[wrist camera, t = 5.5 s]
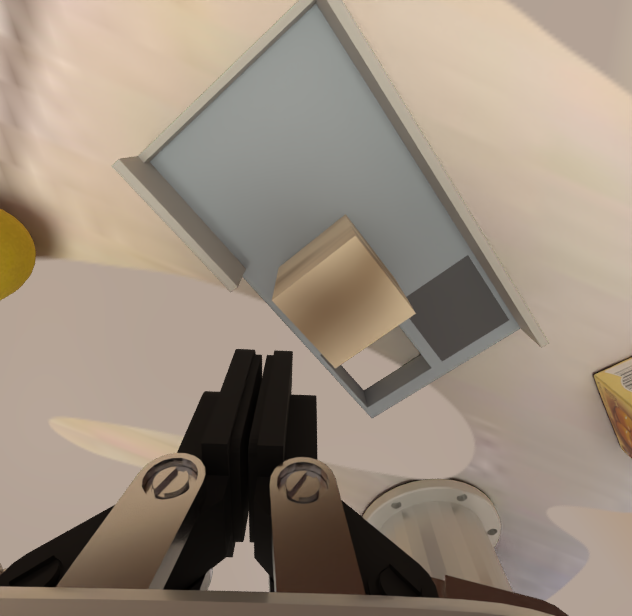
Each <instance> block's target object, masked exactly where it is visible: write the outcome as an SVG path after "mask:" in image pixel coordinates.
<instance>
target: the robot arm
mask: <svg viewBox="0 0 632 616" xmlns="http://www.w3.org/2000/svg"><path fill="white" fill-rule="evenodd" d="M292 353H293V352H292V351H274V355H267V358H266V363H265V367H264V372H263V376H262V355H256V354H255V350H248V349H236V350H235V353H234V356H233V358H232V361H231V364H230V366H229V369H228V372H227V375H226V377H225V380H224V383H223V386H222V388H221V391H220V392H208V391H205V392H204V393H203V395H202V397H201V399H200V402H199V404H198V406H197V409H196V411H195V413H194V415H193V418H192V420H191V422H190V424H189V427H188V429H187V431H186V434H185V436H184V438H183V440H182V443H181V445H180V447H179V450H178V452H177V453H173V454H167V455H164V456H161V457H159V458H156V459H154V460H153V461H151V462H150V463H148V464H147V465H145V467H144V468H143V469H142V470H141V471H140V472H139V473H138V474H137V476H136V477H135V479H134V480H133V481H132V483H131V484H130V485H129V487H128V488H127V490H126V491H125V493H124V494H123V495H122V497H121V498H120V499H119V501H118V502H117V503H116V505H114V506H112V507H110V508H108V509H107V510H105V511H103V512H101V513H99V514H98V515H96V516H94V517H92V518H90V519H89V520H87V521H85V522H84V523H82V524H80V525H78V526H76V527H74V528H73V529H71V530H69V531H67V532H65V533H64V534H62V535H60V536H58V537H56V538H55V539H53V540H51V541H49V542H47V543H46V544H44V545H42V546H40V547H38V548H37V549H35V550H33V551H31V552H29V553H28V554H26V555H25V556H23V557H22V558H20V559H19V560H17V561H16V562H14V563H13V564H12V565H11V566H10V567H9V568H7V569H3V568H2V566H1V564H0V616H568V615H567V614H566V613H564V612H563V611H562V610H560V609H559V608H558V607H556V606H555V605H552V604H550V603H548V602H546V601H543V600H541V599H537V598H533V597H529V596H525V595H521V594H518V593H514V592H513V591H512V589H511V586H510V584H509V582H508V580H507V578H506V575H505V573H504V571H503V569H502V566H501V564H500V562H499V560H498V557H497V555H496V553H495V551H494V547H495V545H496V544H497V542H498V539H499V536H500V532H501V522H500V519H499V516H498V513H497V511H496V509H495V507H494V505H493V503H492V502H491V501H490V499H489V498H488V497H487V496H486V495H485V494H484V493H483V492H481V491H480V490H478V489H477V488H475V487H473V486H471V485H468V484H466V483H463V482H459V481H455V480H447V479H425V480H419V481H414V482H410V483H407V484H404V485H401V486H398V487H396V488H394V489H392V490H390V491H388V492H386V493H385V494H383V495H382V496H381V497H379V498H378V499H376V500H375V501H374V502H373V503H372V504H371V505H370V506H369V507H368V509H367V510H366V512H365V513H364V515H363V516H362V517H361V516H360V515H359V514H358V513H357V512H355V511H354V510H353V509H352V508H350V507H349V506H348V505H347V504H346V503H344V502H343V501H342V500H341V497H340V493H339V489H338V486H337V482H336V478H335V476H334V474H333V472H332V470H331V469H330V468H329V467H328V466H327V465H326V464H324V463H322V462H321V461H319V460H317V409H316V396H311V395H291V387H292V358H293V357H292V355H293V354H292ZM248 513H249V527H250V528H249V530H250V542H254V556H255V559H256V560H257V561H258V562H259V563H260V565H261V566H262V567H263V568H264V569H265V571H266V572H267V573H268V574H269V592H241V591H207V590H208V587H209V585H210V582H211V578H212V573H213V569H212V568H213V567H214V566H215V565H217V564H218V563H219V562H220V561H222V560H223V559H224V558H226V557H233V552H234V547H235V542H243V540H244V536H245V530H246V524H247V519H248Z"/></svg>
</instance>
